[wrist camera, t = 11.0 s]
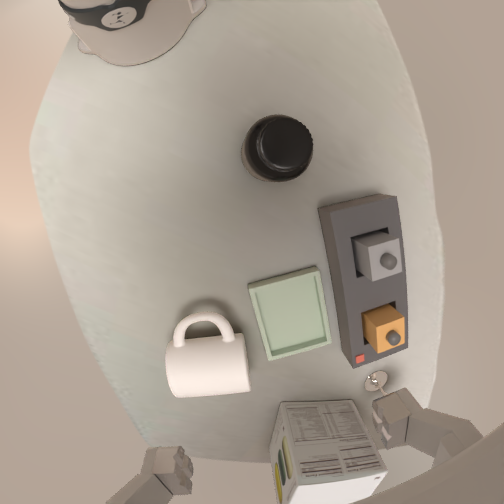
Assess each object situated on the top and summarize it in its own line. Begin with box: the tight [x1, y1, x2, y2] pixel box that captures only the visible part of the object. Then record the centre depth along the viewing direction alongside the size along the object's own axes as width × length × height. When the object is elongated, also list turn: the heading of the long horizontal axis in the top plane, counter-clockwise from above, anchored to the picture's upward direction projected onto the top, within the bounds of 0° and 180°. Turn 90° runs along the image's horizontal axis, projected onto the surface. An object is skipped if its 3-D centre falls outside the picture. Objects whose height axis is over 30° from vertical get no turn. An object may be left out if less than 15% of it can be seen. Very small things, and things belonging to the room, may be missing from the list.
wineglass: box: [364, 371, 388, 396], centre depth 39 cm, size 6×6×12 cm
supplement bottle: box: [241, 115, 313, 182], centre depth 30 cm, size 7×7×12 cm
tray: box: [248, 266, 332, 361], centre depth 40 cm, size 11×9×2 cm
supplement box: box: [269, 400, 388, 504], centre depth 38 cm, size 13×13×18 cm
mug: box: [165, 311, 251, 398], centre depth 37 cm, size 12×10×8 cm
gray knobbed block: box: [350, 230, 402, 282], centre depth 34 cm, size 4×4×8 cm
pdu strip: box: [318, 194, 408, 369], centre depth 38 cm, size 22×9×5 cm, turn 14°
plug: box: [361, 303, 405, 353], centre depth 36 cm, size 4×4×8 cm
